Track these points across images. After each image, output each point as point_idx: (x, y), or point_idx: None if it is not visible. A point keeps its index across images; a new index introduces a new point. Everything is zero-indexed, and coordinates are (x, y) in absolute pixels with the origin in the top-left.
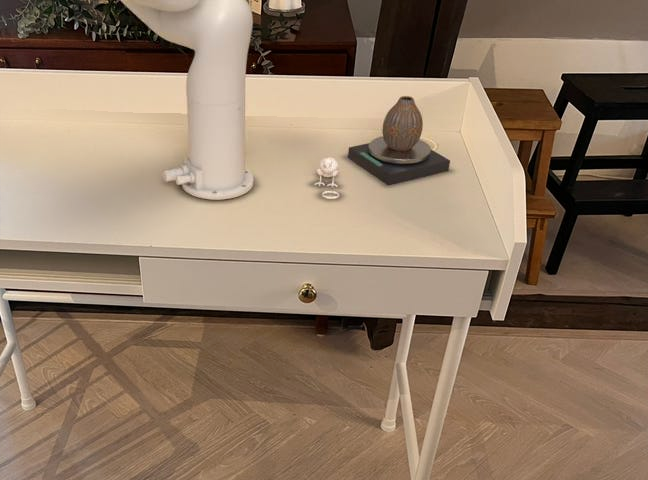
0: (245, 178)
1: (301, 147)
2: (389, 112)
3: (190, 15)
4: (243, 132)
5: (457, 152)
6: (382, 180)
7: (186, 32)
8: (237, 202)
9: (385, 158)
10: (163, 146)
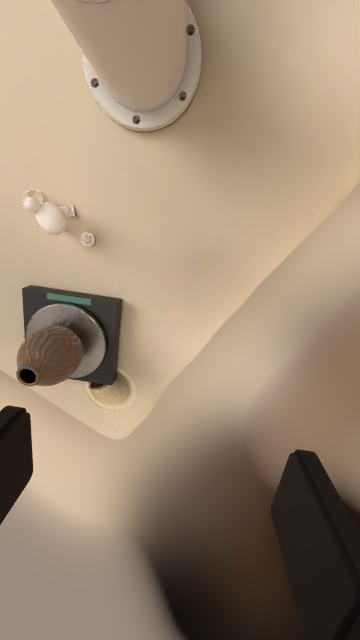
0: (116, 103)
1: (182, 269)
2: (48, 347)
3: None
4: (72, 34)
5: (70, 407)
6: (42, 287)
7: None
8: (74, 56)
9: (46, 306)
10: (330, 64)
